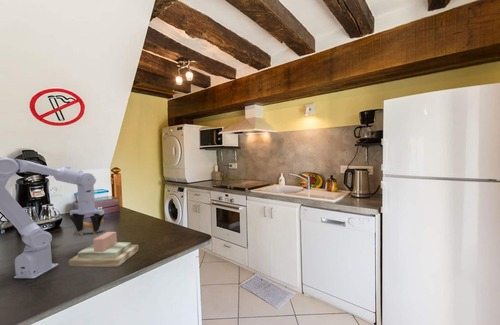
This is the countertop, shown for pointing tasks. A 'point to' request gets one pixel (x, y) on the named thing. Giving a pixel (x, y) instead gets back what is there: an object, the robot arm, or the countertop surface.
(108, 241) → the terracotta brick
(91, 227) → the lion figurine
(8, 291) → the countertop surface
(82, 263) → the tower base
